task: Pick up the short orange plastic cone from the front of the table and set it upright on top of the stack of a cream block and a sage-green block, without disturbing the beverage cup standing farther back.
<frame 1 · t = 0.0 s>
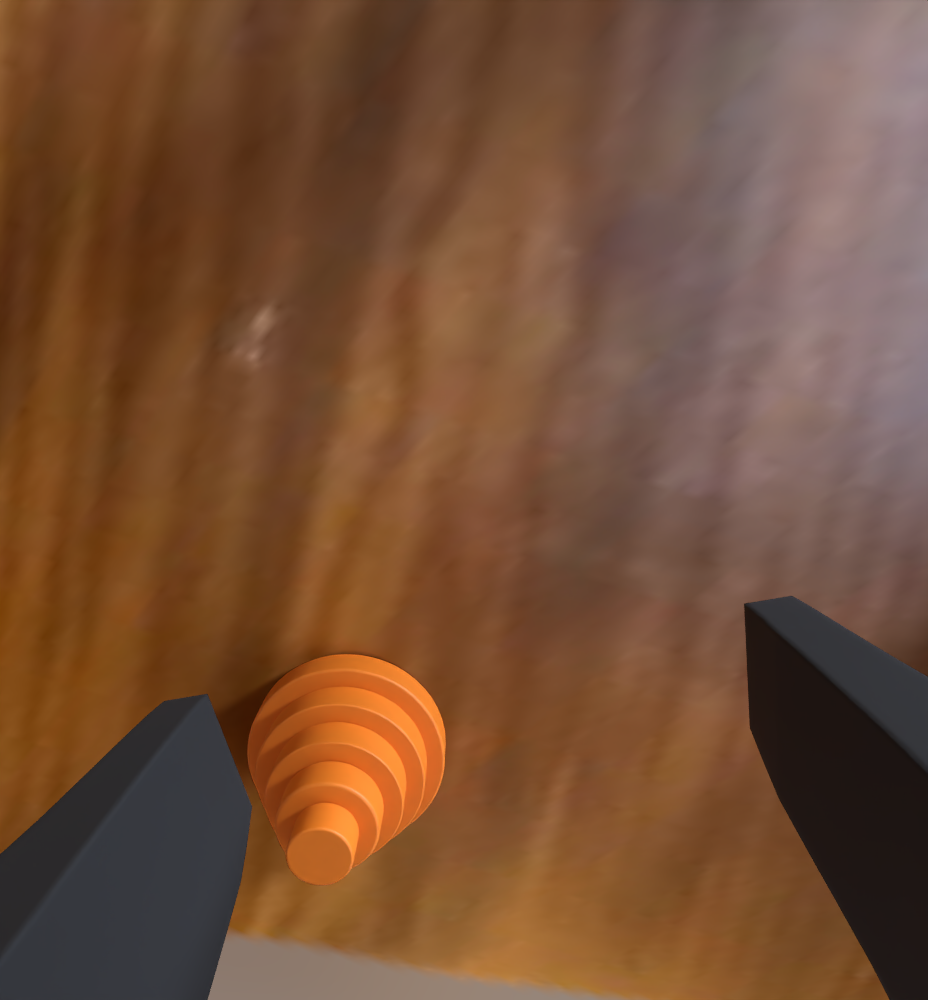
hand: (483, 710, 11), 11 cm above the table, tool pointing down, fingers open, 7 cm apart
cone: (350, 740, 23), on the table
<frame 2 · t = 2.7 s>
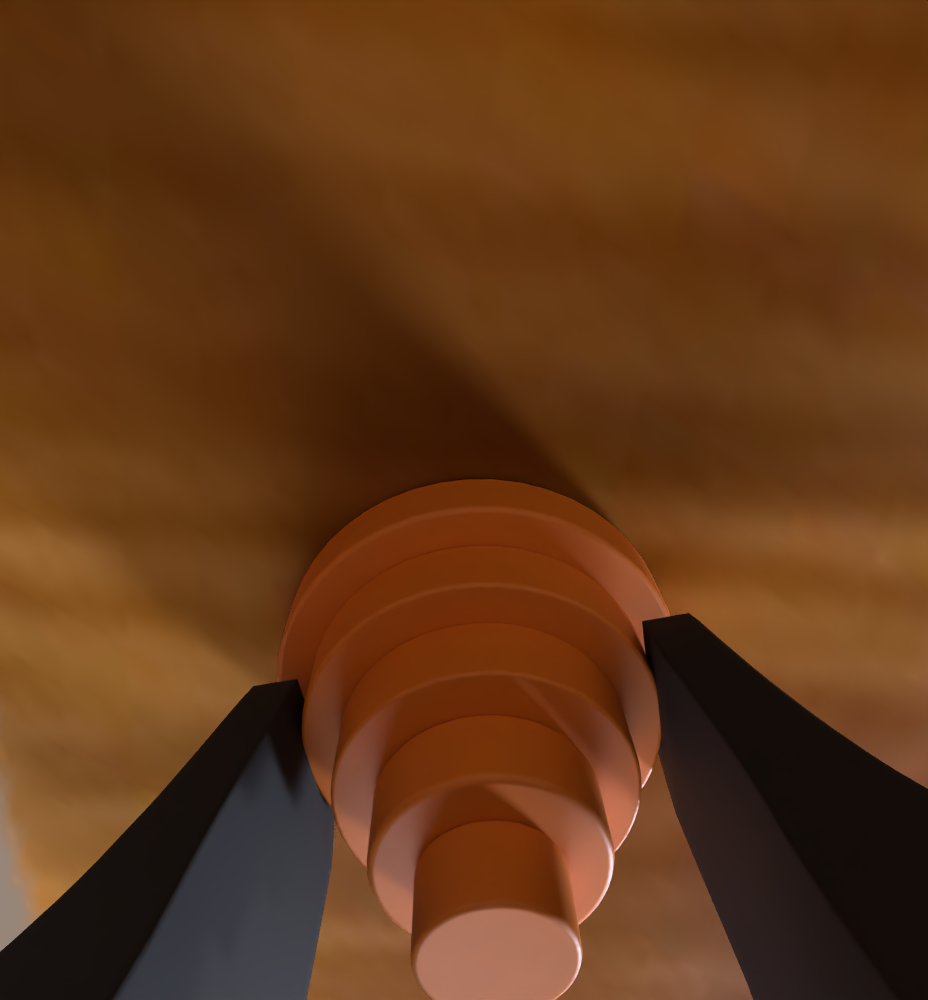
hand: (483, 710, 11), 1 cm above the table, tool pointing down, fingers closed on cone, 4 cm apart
cone: (477, 648, 12), on the table, touching gripper
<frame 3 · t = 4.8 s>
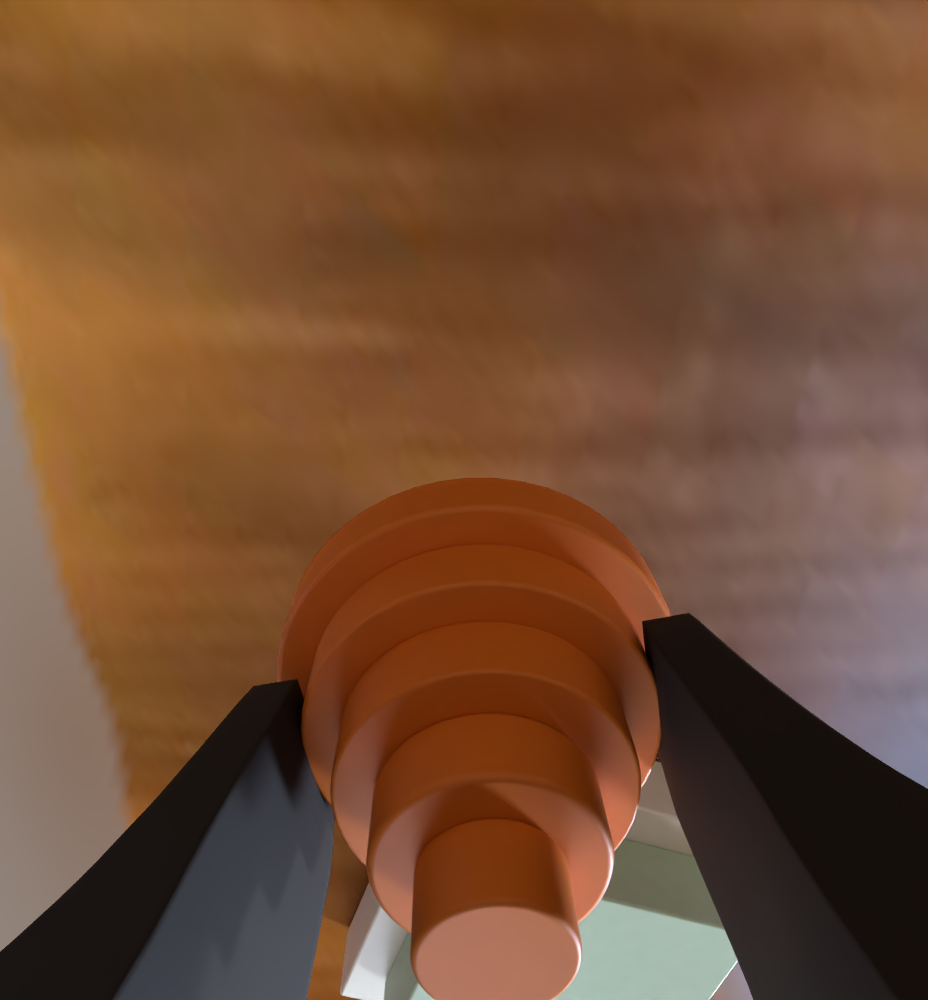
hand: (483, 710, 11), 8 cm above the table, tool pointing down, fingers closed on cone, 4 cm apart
top block: (550, 924, 21), point 2 cm above the table, touching base block
base block: (542, 862, 23), on the table, touching top block
cone: (476, 647, 12), point 6 cm above the table, touching gripper
when the fingers open (5 cm above the table, at t = 7.1 s): cone stays where it is, resting on top block.
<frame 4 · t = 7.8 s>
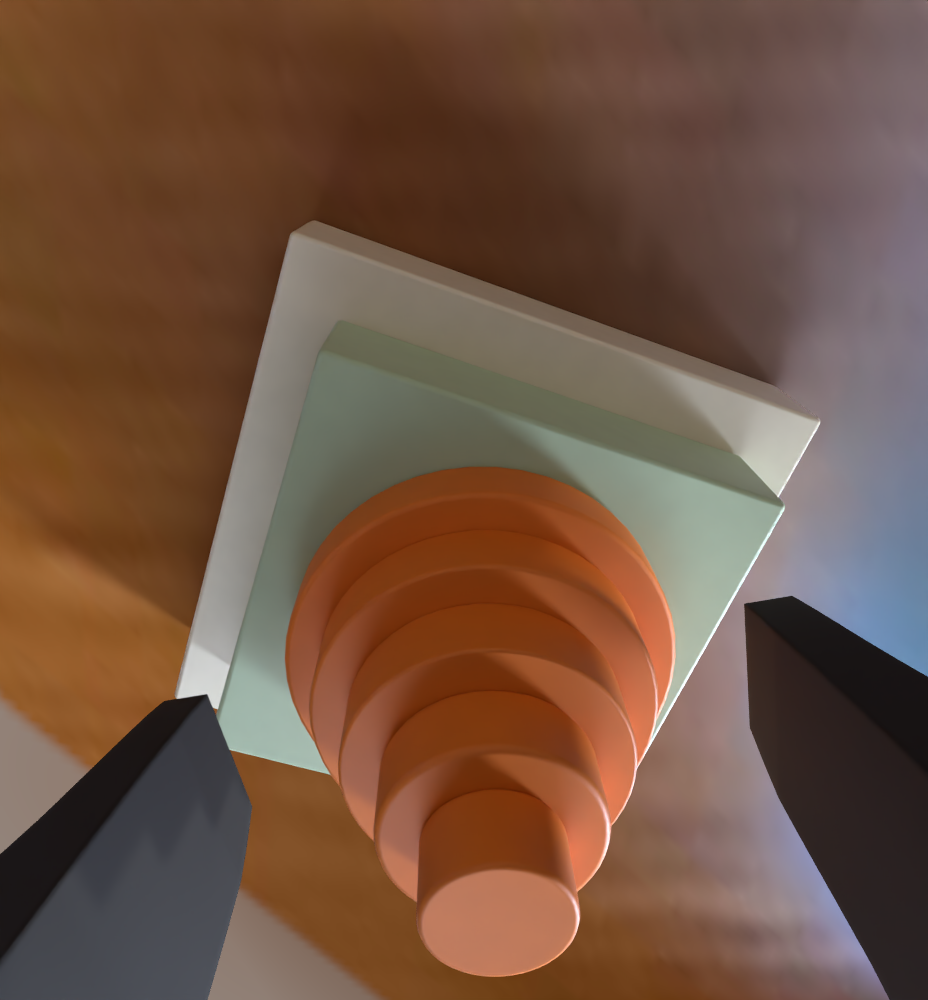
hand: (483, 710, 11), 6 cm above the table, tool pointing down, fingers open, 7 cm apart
top block: (474, 569, 14), point 2 cm above the table, touching base block, cone
base block: (471, 520, 16), on the table, touching top block
cone: (478, 632, 12), point 4 cm above the table, touching top block
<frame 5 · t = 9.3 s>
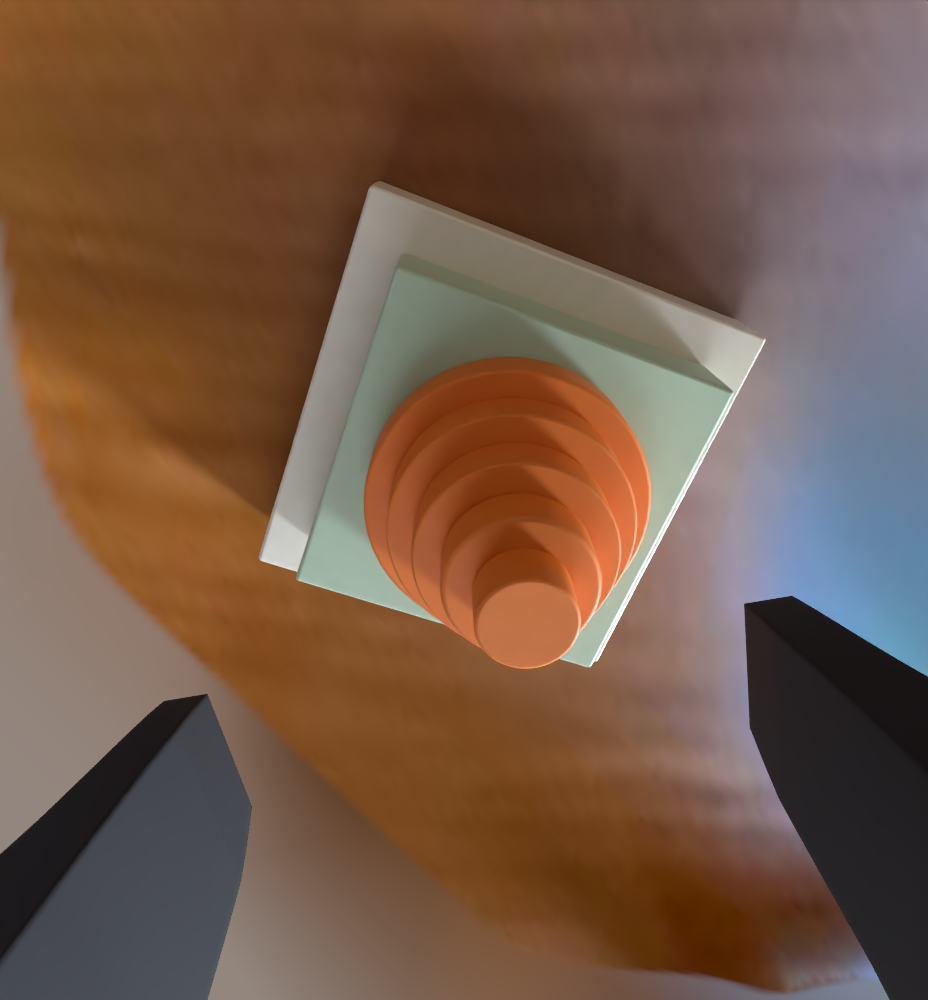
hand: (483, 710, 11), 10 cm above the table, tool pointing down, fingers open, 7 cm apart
top block: (498, 455, 18), point 2 cm above the table, touching base block, cone
base block: (493, 427, 20), on the table, touching top block
cone: (504, 490, 16), point 4 cm above the table, touching top block
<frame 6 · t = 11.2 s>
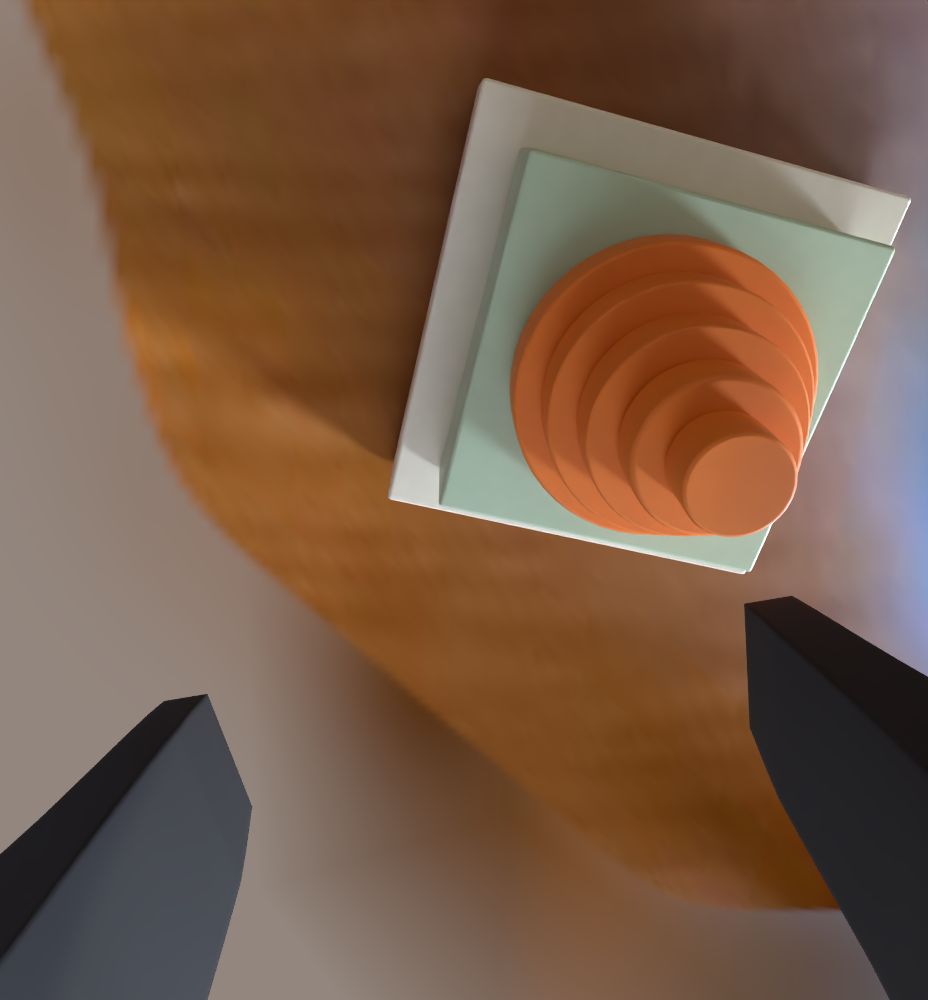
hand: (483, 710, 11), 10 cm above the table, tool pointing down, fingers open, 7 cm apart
top block: (631, 359, 17), point 2 cm above the table, touching base block, cone
base block: (613, 338, 19), on the table, touching top block
cone: (653, 384, 15), point 4 cm above the table, touching top block
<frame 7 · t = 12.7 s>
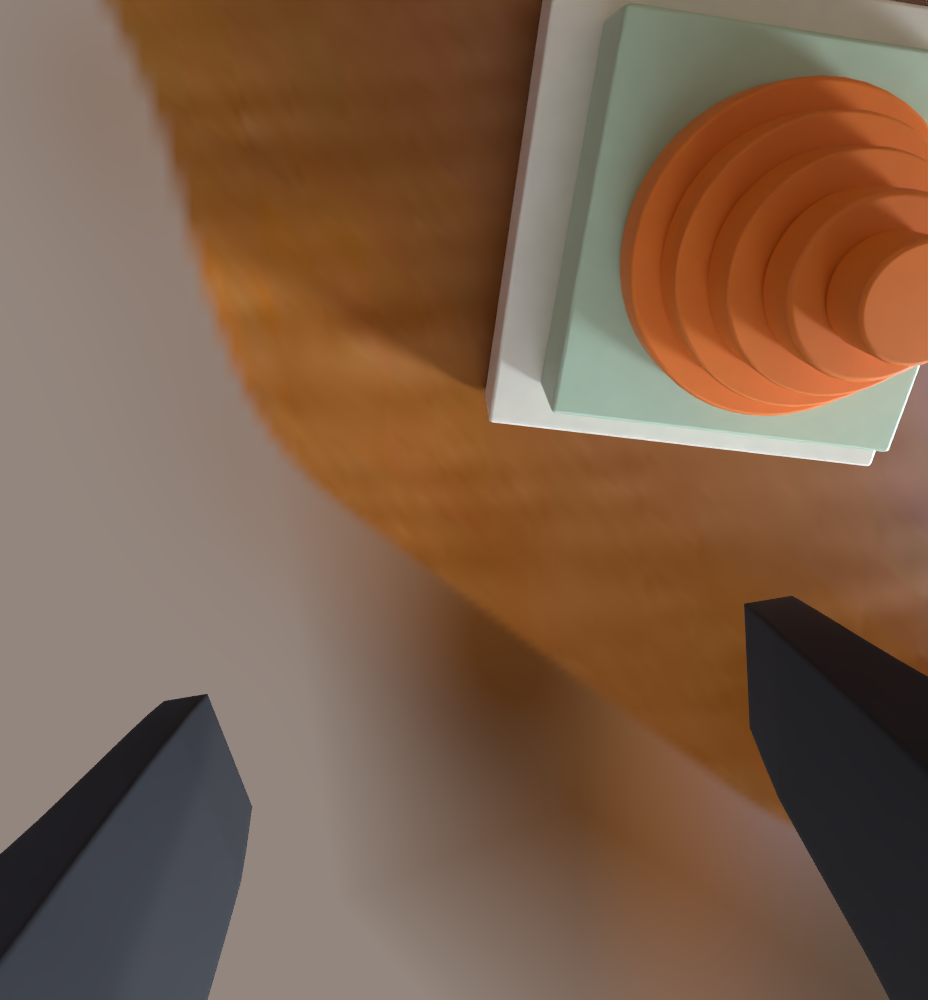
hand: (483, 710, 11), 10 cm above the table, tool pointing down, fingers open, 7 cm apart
top block: (736, 241, 16), point 2 cm above the table, touching base block, cone
base block: (706, 231, 18), on the table, touching top block
cone: (772, 253, 14), point 4 cm above the table, touching top block
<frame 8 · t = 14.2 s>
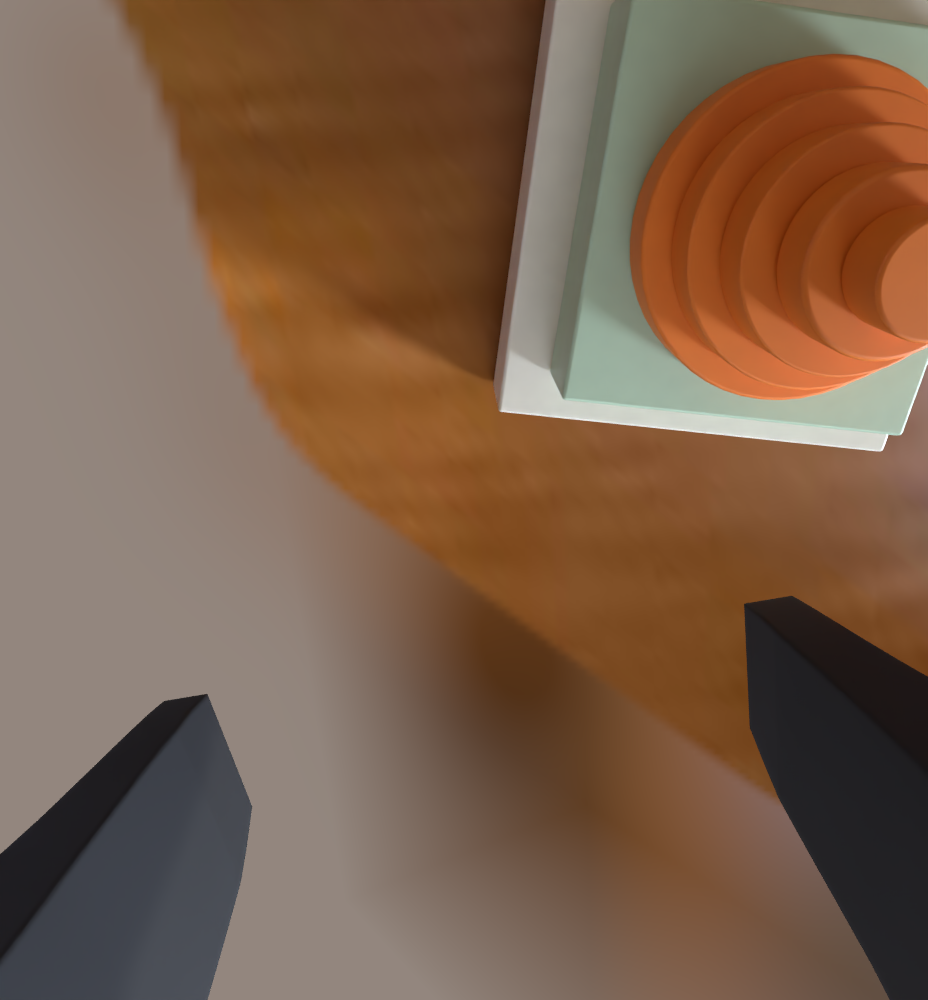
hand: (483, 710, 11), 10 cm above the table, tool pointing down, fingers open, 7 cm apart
top block: (745, 225, 16), point 2 cm above the table, touching base block, cone
base block: (715, 217, 18), on the table, touching top block
cone: (783, 236, 14), point 4 cm above the table, touching top block
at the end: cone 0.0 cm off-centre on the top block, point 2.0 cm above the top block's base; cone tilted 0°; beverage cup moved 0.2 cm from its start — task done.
